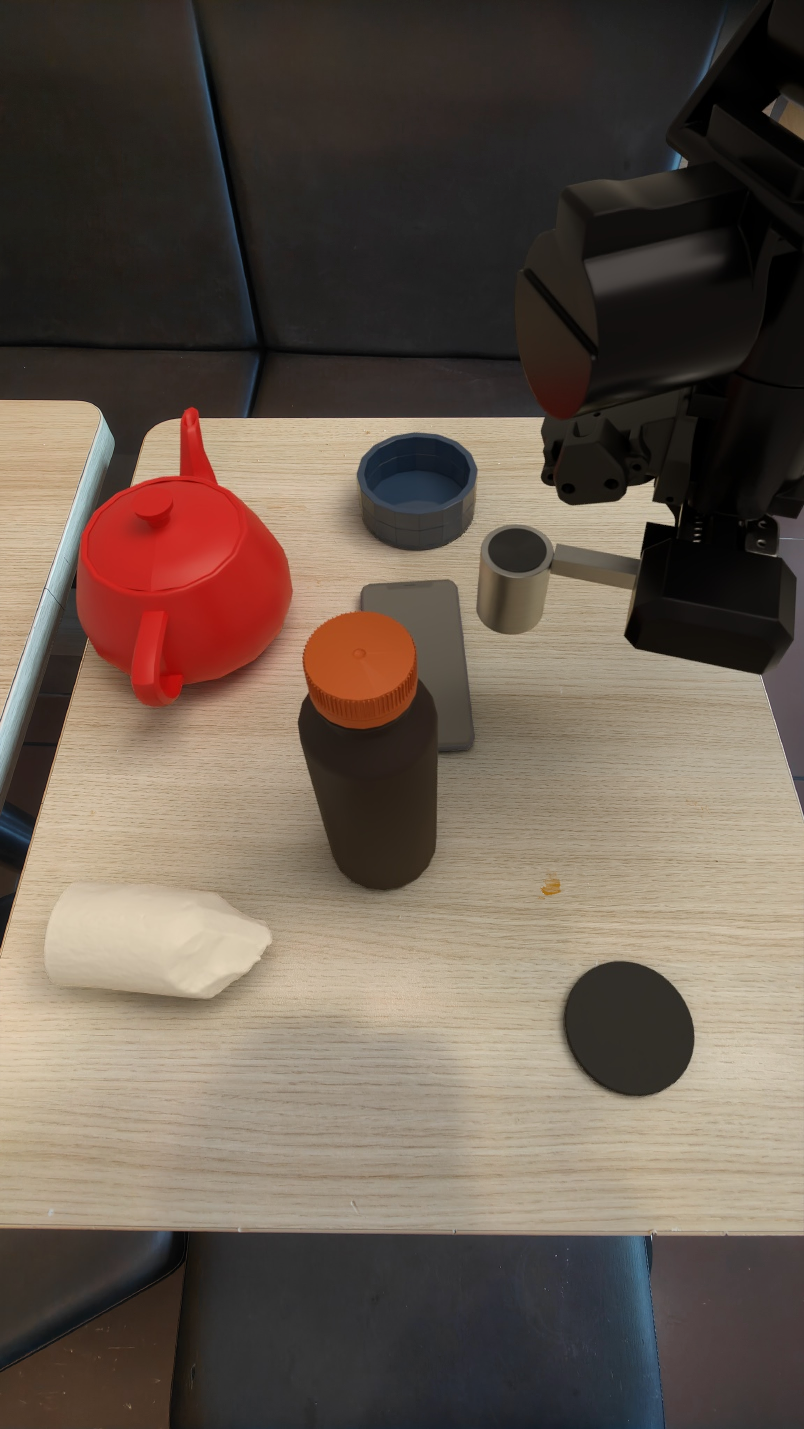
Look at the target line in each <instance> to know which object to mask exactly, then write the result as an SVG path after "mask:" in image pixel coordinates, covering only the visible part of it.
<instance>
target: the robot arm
mask: <svg viewBox="0 0 804 1429" xmlns="http://www.w3.org/2000/svg"><path fill="white" fill-rule="evenodd" d="M781 96H782V97H783V99H785V100H786V101H788V102H789V103H791V104H792V105H794V106H796V107H797V108H798V109H800V110H802V111H803V112H804V0H757V1H756V2H755V4H754V6H753V7H752V8H751V9H750V11H749V13H748V14H747V15H746V17H745V18H744V19H743V21H742V22H741V24H740V25H739V27H738V28H737V29H736V31H735V32H734V34H733V35H732V37H731V38H730V39H729V40H728V42H727V44H726V45H725V46H724V48H723V49H722V51H721V52H720V54H718V57H716V59H715V60H714V62H713V64H712V65H711V67H710V68H709V69H708V71H707V72H706V73H705V74H704V76H703V78H702V79H701V80H700V82H699V83H698V85H697V86H696V87H695V89H694V90H693V92H692V93H691V94H690V96H689V98H688V99H687V100H686V102H685V103H684V104H683V106H682V107H681V109H680V110H679V112H678V113H677V114H676V115H675V117H674V118H673V120H672V121H671V122H670V124H669V126H668V127H667V128H666V129H667V130H666V131H665V132H666V133H665V143H666V144H667V146H668V147H670V148H671V149H672V150H673V151H675V153H677V154H678V155H680V156H681V157H682V158H683V159H685V160H686V161H687V165H686V167H680V168H676V169H671V170H667V171H663V172H658V173H653V174H649V175H644V176H639V177H634V178H630V179H625V180H615V179H604V178H600V179H594V180H587V181H583V182H579V183H575V184H570V185H569V184H568V185H566V186H564V188H563V189H562V190H561V191H560V193H559V194H558V201H557V208H556V215H555V224H554V228H553V229H549V230H544V231H541V233H539V235H537V236H536V237H535V238H534V239H533V240H532V242H531V245H530V246H529V248H528V250H527V252H526V255H525V259H524V262H523V266H522V269H519V270H517V271H516V274H515V282H514V291H513V292H514V294H513V316H514V317H513V319H514V330H515V337H516V343H517V350H518V355H519V358H520V363H521V366H522V367H521V368H522V370H523V373H524V376H525V379H526V381H527V384H528V387H529V389H530V391H531V393H532V396H533V397H534V399H535V400H536V402H537V404H538V405H539V406H540V408H541V409H542V410H543V411H544V412H545V414H544V418H543V421H542V425H541V427H540V435H541V439H542V443H543V449H542V455H543V459H544V463H543V465H542V470H541V473H540V480H541V482H542V483H543V484H544V485H545V486H548V487H554V488H555V491H556V494H557V497H558V499H559V500H560V501H561V502H563V503H565V504H567V505H568V506H571V507H572V506H584V505H585V506H586V505H596V504H608V503H616V502H619V501H620V500H621V499H622V498H623V497H625V495H626V494H627V491H628V488H630V487H637V486H642V485H645V484H647V483H650V482H652V481H653V488H654V489H653V494H652V498H651V502H652V503H657V504H664V505H666V507H667V508H668V510H669V511H670V512H671V514H672V515H673V519H674V525H669V524H665V523H658V522H654V521H653V522H652V521H646V522H645V528H644V533H643V536H642V537H643V538H642V544H641V549H640V553H639V559H640V563H639V566H638V570H637V574H636V578H635V582H634V586H633V590H631V594H630V600H629V605H628V610H627V616H626V622H625V626H624V632H623V637H624V638H625V639H626V641H627V642H628V643H629V644H630V645H631V646H632V648H634V649H635V650H639V651H643V652H649V653H653V654H657V655H663V656H666V657H667V656H668V657H672V658H675V659H681V660H686V661H691V662H696V663H701V664H706V665H711V666H715V667H719V668H724V669H729V670H733V671H739V672H744V673H748V674H753V675H758V676H764V675H765V674H767V673H769V672H770V671H771V672H772V671H774V670H775V669H776V668H778V666H779V664H780V663H781V661H782V659H783V658H784V657H785V655H786V654H787V652H788V650H789V648H790V647H791V645H792V644H793V642H794V640H795V626H796V624H795V623H796V607H797V606H796V603H797V602H796V601H797V582H798V577H797V576H796V574H795V573H794V572H793V571H792V569H791V568H790V566H789V564H788V563H786V561H785V560H784V558H783V557H781V556H779V554H780V553H779V551H780V537H781V536H780V535H781V524H780V521H779V520H778V519H777V518H775V517H781V518H786V519H793V520H797V519H798V518H799V515H800V513H801V512H802V510H803V508H804V139H803V138H802V137H800V136H799V135H797V134H796V133H794V132H793V131H792V130H790V129H789V128H787V127H786V126H784V125H783V124H781V123H780V122H778V121H777V120H776V119H774V118H772V117H771V116H770V115H769V114H767V113H765V112H764V111H765V109H767V108H768V107H769V106H770V105H771V104H772V103H774V101H776V100H777V99H778V98H779V97H781ZM774 516H775V517H774Z"/></svg>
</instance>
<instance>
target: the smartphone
mask: <svg viewBox="0 0 804 1429" xmlns="http://www.w3.org/2000/svg"><path fill="white" fill-rule="evenodd" d="M359 598H360V599H359V600H360V611H363V612H364V611H365V612H369V611H370V612H376V613H379V614H384V616H387V615H388V617H390V618H391V617H392V619H393V620H395V619H396V622H399V623H400V625H403V627H404V628H405V627H406V631H409V634H411V637H413V641H414V643H415V645H416V651H417V673H418V679H420V680H421V681H422V682H423V684H424V685H425V686H426V688H427V689H428V691H429V692H430V694H431V695H432V696H433V699H434V703H435V707H436V711H437V714H438V752H453V751H454V752H455V751H456V752H457V751H468V750H469V749H471V747H473V745H474V742H475V738H476V737H475V730H474V729H475V727H474V718H473V710H472V701H471V700H472V699H471V691H470V684H469V683H470V682H469V675H468V666H467V658H466V647H465V637H464V630H463V623H462V613H461V612H462V611H461V605H460V604H461V603H460V595H459V587H458V585H457V584H456V583H455V581H453V580H451V579H449V578H446V579H430V580H429V579H426V580H410V581H409V580H408V581H393V582H378V583H377V582H374V583H368V584H366V585H364V586H363V587H362V588H361V591H360V595H359Z"/></svg>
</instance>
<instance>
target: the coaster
mask: <svg viewBox="0 0 804 1429" xmlns="http://www.w3.org/2000/svg"><path fill="white" fill-rule="evenodd" d="M563 1017H564V1022H563V1023H564V1032H565V1037H566V1040H567V1043H568V1046H569V1049H570V1051H571V1053H572V1055H573V1057H574V1059H575V1060H576V1062H577V1063H578V1065H579V1066H580V1068H581V1069H582V1070H584V1072H585V1073H586V1075H588V1076H589V1077H590V1078H591V1079H592V1080H594V1081H595V1082H596V1083H598V1084H599V1086H602V1087H604V1088H606V1089H607V1090H609V1091H611V1092H614V1093H616V1094H620V1095H623V1096H630V1097H644V1096H651V1095H654V1094H657V1093H660V1092H662V1091H664V1090H666V1089H667V1088H669V1087H671V1086H672V1085H674V1084H675V1083H676V1082H678V1080H679V1079H680V1078H681V1077H682V1076H683V1075H684V1073H685V1072H686V1071H687V1069H688V1067H689V1065H690V1063H691V1060H692V1058H693V1057H692V1056H693V1055H694V1054H693V1053H694V1048H695V1026H694V1022H693V1021H694V1020H693V1016H692V1015H691V1012H690V1009H689V1007H688V1005H687V1003H686V1001H685V999H684V998H683V996H682V994H681V993H680V992H679V990H678V989H677V988H676V986H675V985H673V983H671V982H670V980H669V979H667V978H666V977H665V976H663V975H662V974H661V973H659V972H658V971H656V970H654V969H653V968H651V967H649V966H646V965H643V964H640V963H638V962H633V961H626V960H617V961H616V960H615V961H608V962H604V963H601V964H599V965H597V966H594V967H592V968H591V969H589V970H588V971H586V972H585V973H584V974H583V975H582V976H581V977H580V978H579V979H578V980H577V982H575V984H574V986H573V987H572V989H571V991H570V992H569V996H568V998H567V999H566V1004H565V1008H564V1016H563Z"/></svg>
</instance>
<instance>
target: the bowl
mask: <svg viewBox="0 0 804 1429" xmlns="http://www.w3.org/2000/svg"><path fill="white" fill-rule="evenodd" d="M478 470H479V469H478V467H477V464H476V461H475V459H474V457H473V455H472V452H470V451H469V450H468V449H467V448H466V447H464V446H463V445H462V444H461V443H460V442H459V441H457V440H454V439H451V438H449V437H446V436H444V435H442V434H438V433H431V432H429V433H427V432H419V431H418V432H417V431H414V432H407V433H401V434H396V435H392V436H390V437H388V438H386V439H383V440H381V441H379V442H377V443H375V444H373V446H372V447H371V448H370V449H368V451H366V453H365V454H364V455H363V456H361V458H360V461H359V465H358V468H357V471H356V484H357V493H358V503H359V509H360V514H361V519H362V522H363V525H364V526H365V528H366V529H367V530H368V532H369V533H370V534H371V535H372V536H373V537H375V539H377V540H379V541H380V542H382V543H384V544H385V545H388V546H390V547H393V548H397V549H400V550H401V549H402V550H407V551H425V550H432V549H436V548H440V547H442V546H443V547H444V546H445V545H448V544H450V543H452V542H454V541H455V540H457V539H459V537H461V536H462V535H463V534H465V532H467V530H468V528H469V527H470V526H471V524H472V522H473V520H474V516H475V509H476V503H477V488H478V474H479V471H478Z"/></svg>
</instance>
